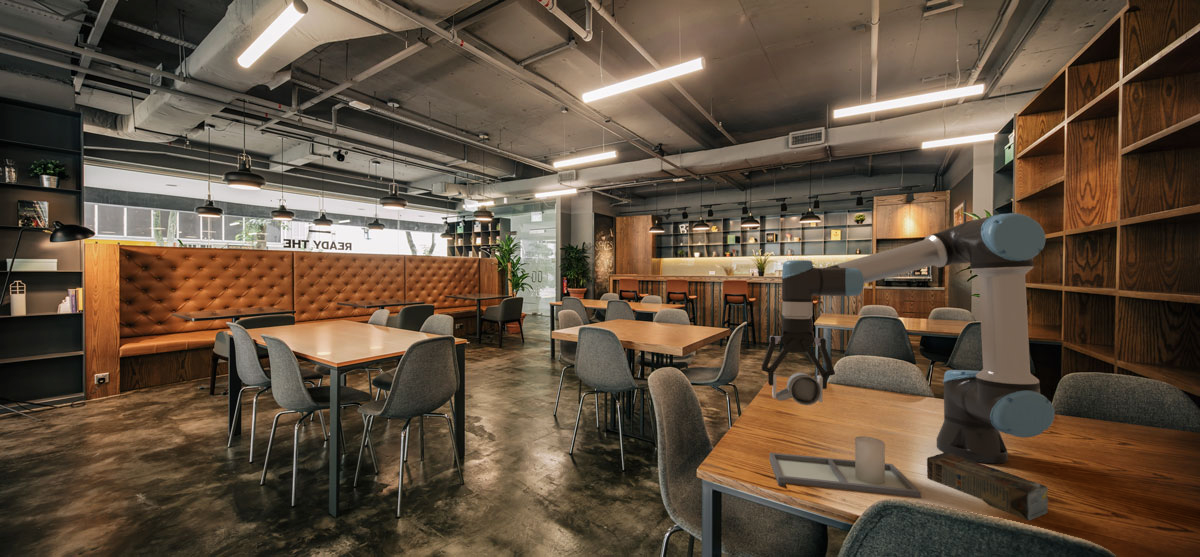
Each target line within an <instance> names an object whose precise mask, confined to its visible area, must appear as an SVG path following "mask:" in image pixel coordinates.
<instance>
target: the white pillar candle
mask: <svg viewBox="0 0 1200 557" xmlns="http://www.w3.org/2000/svg"><path fill="white" fill-rule="evenodd" d="M885 444H886V442H884V441H883V440H881V439H879V438H876V437H871V436H866V435H864V436H863V435H861V436H860V435H859V436H855V438H854V461H855V477H856V478H857V479H859V480H861V481H863V482H866V483H870V484H884V483H885V463H886V462H885V458H886V456H885V454H886V453H885V452H886V451H885V449H886V448H885V446H886V445H885Z"/></svg>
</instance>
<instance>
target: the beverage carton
mask: <svg viewBox="0 0 1200 557" xmlns="http://www.w3.org/2000/svg"><path fill="white" fill-rule="evenodd" d="M926 468H927V470H926V473H927V475H926V476H927V479H928V480H930V481H933V482H935V483H938V484H940V485H942V486H945V487H948V488H951V489H954V490H956V491H959V492H961V493H964V494H967V495H969V496H972V497H975V498H977V499H979V500H981V501H983V502H984V503H985V504H987V505H988V506H989V507H992V508H994V509H996V510H997V509H998V510H1000V511H1002V512H1005V513H1008V514H1010V515H1013V516H1014V517H1015V516H1016V517H1018V518H1021V519H1023V520H1026V521H1028V522H1029V521H1032V520H1034V519H1037V518H1039V517H1041V516H1044V515H1046V514H1048V507H1049V501H1048V492H1049V491H1048V490H1049V489H1048V487H1047V486H1046V485H1044V484H1042V483H1039V482H1036V481H1032V480H1028V479H1026V478H1023V477H1020V476H1018V475H1015V474H1013V473H1012V474H1011V473H1009V472H1006V471H1003V470H1000V469H998V468H995V467H991V466H989V465H985V464H982V463H981V462H976V461H971V460H968V459H965V458H963V457H959V456H956V455H954V454H950V453H947V452H942V453H940V454H939V453H938V454H935V455H933V456H928V457H927V458H926Z"/></svg>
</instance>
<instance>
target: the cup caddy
mask: <svg viewBox="0 0 1200 557" xmlns="http://www.w3.org/2000/svg"><path fill="white" fill-rule="evenodd" d="M769 462H770V465H771V468H772V471H773V473H774V477H775V479H776V482H777V486H778V487H779V486H780V487H787V484H789V485H797V486H798V485H799V486H808V487H818V488H825V489H826V488H827V489H835V490H846V491H855V492H863V493H870V494H871V493H873V494H879V495H880V494H882V495H892V496H900V497H909V498H918V499H921V498H922V491H921V490H919V489H918V488H917V487H916V486H915V485H914V484H913V483H912V482H911V481H910V480H909V478H907V477H906V476H905V475H904V474H903V473H902V472H901V471H900V470H899V469H898V468H897V467H896V466H895V465H894V464H892V463H886V462H885V483H884V484H870V483H866V482H863V481H861V480H859V479H857V478H856V477H855V459H854V460H851V459H844V458H843V459H842V458H832V457H821V456H820V457H819V456H810V455H799V454H791V453H790V454H789V453H778V452H769Z"/></svg>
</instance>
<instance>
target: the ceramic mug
mask: <svg viewBox="0 0 1200 557" xmlns="http://www.w3.org/2000/svg"><path fill="white" fill-rule="evenodd" d="M820 396H821V386H820V384H819V382H818V381H817V379H816V378H815V377H813V376H811V375H809V374H807V373H803V372H796V373H793V374H792V375H791V376H790V377H788V380H787V382H786V387H785V388H784V389H780V390H779V391H778V392H777V391H776V399H777V400H778V401H779V402H780V401H781V402H782V401H786V400H789V399H793V400H794V402H795V403H797V404H799V405H803V406H812V405H814V404H816V403H817V402H819V401H818V400H819V399H820Z"/></svg>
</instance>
